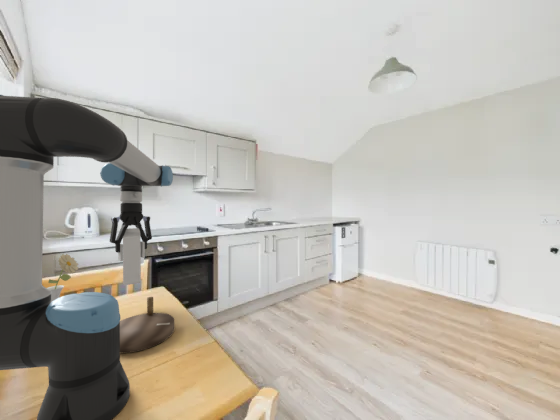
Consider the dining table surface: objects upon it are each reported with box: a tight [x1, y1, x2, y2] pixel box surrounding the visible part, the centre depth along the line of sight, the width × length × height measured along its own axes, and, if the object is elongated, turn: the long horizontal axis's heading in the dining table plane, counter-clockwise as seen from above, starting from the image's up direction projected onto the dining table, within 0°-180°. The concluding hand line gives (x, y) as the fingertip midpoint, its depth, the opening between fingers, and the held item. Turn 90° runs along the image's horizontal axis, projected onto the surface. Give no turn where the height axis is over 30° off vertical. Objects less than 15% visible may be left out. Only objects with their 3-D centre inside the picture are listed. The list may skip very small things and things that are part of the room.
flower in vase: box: [46, 253, 79, 302], centre depth 86 cm, size 13×11×25 cm
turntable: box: [120, 296, 175, 354], centre depth 80 cm, size 20×20×9 cm
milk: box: [122, 227, 142, 286], centre depth 99 cm, size 6×6×22 cm
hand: (131, 258), depth 99 cm, fingers closed on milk, 7 cm apart
